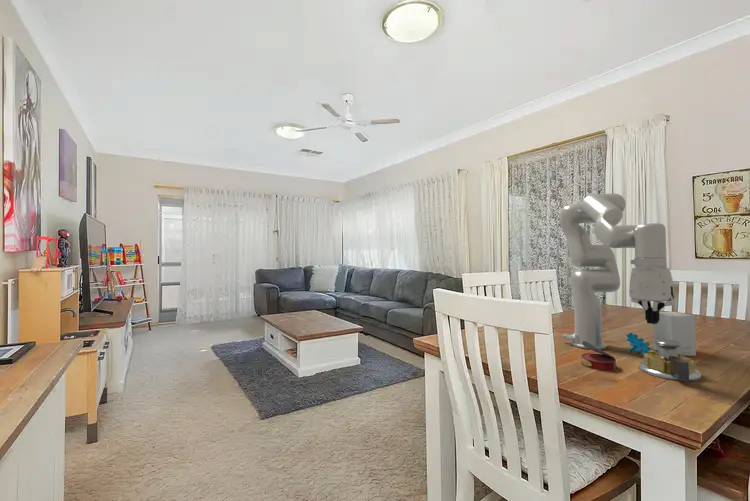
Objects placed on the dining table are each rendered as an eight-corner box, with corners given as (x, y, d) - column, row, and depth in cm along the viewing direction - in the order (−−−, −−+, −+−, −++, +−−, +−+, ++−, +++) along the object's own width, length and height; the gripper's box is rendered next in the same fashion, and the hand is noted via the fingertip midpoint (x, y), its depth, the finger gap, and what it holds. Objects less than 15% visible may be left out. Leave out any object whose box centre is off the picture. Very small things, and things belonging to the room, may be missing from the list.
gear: (643, 355, 121) (623, 331, 128) (630, 363, 125) (611, 339, 132) (662, 355, 125) (642, 332, 132) (648, 363, 129) (630, 340, 136)
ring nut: (640, 359, 116) (639, 345, 116) (684, 363, 111) (683, 348, 111) (658, 377, 100) (657, 360, 100) (710, 382, 95) (710, 364, 95)
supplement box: (697, 356, 124) (696, 315, 124) (672, 356, 124) (671, 315, 124) (675, 349, 133) (674, 311, 133) (652, 349, 133) (651, 311, 133)
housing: (647, 377, 104) (646, 345, 104) (633, 362, 118) (632, 334, 118) (711, 384, 98) (710, 350, 98) (688, 367, 112) (687, 338, 112)
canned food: (583, 374, 120) (579, 346, 125) (617, 376, 115) (612, 347, 120) (581, 368, 112) (577, 338, 117) (618, 369, 107) (612, 338, 111)
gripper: (617, 263, 109) (619, 320, 108) (675, 264, 95) (677, 329, 95) (629, 263, 112) (631, 318, 112) (687, 263, 99) (689, 326, 99)
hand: (652, 323), depth 103 cm, fingers closed
